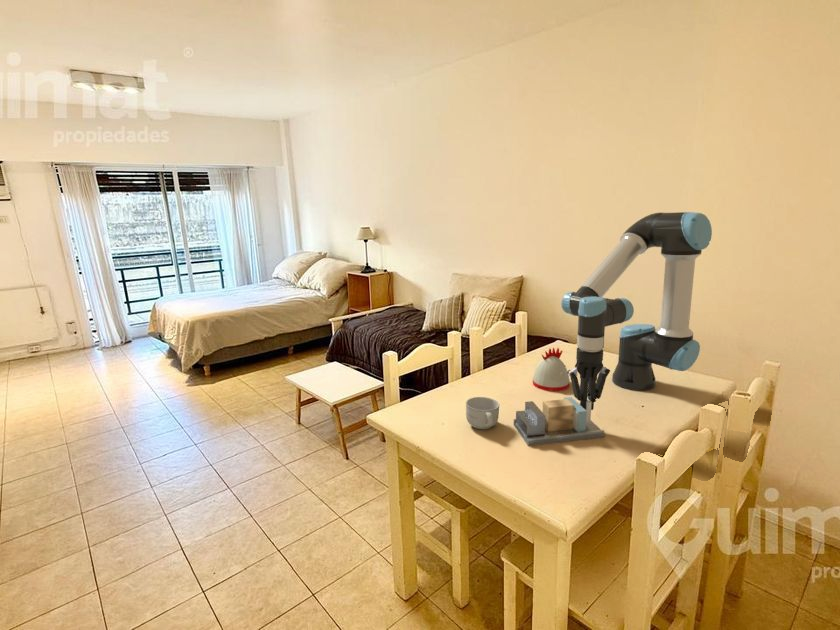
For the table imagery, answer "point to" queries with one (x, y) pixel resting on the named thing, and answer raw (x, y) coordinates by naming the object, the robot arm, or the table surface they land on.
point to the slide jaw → (578, 416)
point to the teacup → (482, 412)
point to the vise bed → (563, 435)
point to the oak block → (558, 414)
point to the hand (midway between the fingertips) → (586, 419)
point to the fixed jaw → (531, 420)
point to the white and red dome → (551, 373)
